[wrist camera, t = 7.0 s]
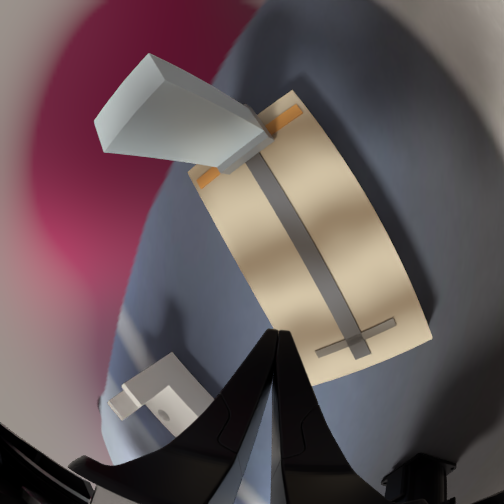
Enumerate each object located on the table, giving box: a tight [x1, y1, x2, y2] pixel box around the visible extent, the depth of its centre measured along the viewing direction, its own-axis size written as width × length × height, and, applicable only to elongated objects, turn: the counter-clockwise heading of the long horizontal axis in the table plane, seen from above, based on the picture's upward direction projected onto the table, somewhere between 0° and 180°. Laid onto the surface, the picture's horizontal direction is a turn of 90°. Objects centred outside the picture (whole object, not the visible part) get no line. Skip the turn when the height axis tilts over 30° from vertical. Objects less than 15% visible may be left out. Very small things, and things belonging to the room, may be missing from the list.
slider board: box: [188, 90, 433, 386], centre depth 18 cm, size 19×10×2 cm, turn 33°
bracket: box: [107, 352, 214, 437], centre depth 25 cm, size 13×7×8 cm, turn 47°
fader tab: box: [94, 53, 275, 175], centre depth 13 cm, size 3×4×10 cm
